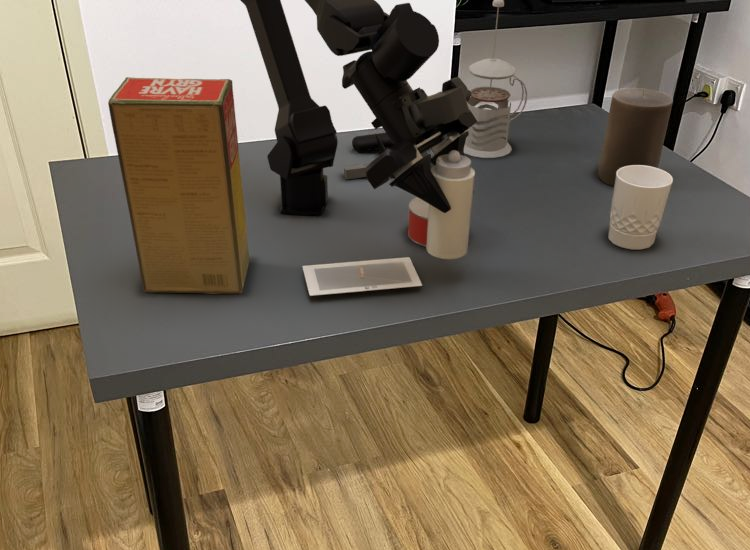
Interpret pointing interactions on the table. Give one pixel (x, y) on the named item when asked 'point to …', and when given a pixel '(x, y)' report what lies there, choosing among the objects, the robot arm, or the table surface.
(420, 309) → the table surface
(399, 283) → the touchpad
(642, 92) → the pillar candle
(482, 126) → the french press
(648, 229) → the white cup
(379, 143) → the door handle
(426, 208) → the sauce tin
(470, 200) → the pepper mill
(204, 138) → the food packaging
